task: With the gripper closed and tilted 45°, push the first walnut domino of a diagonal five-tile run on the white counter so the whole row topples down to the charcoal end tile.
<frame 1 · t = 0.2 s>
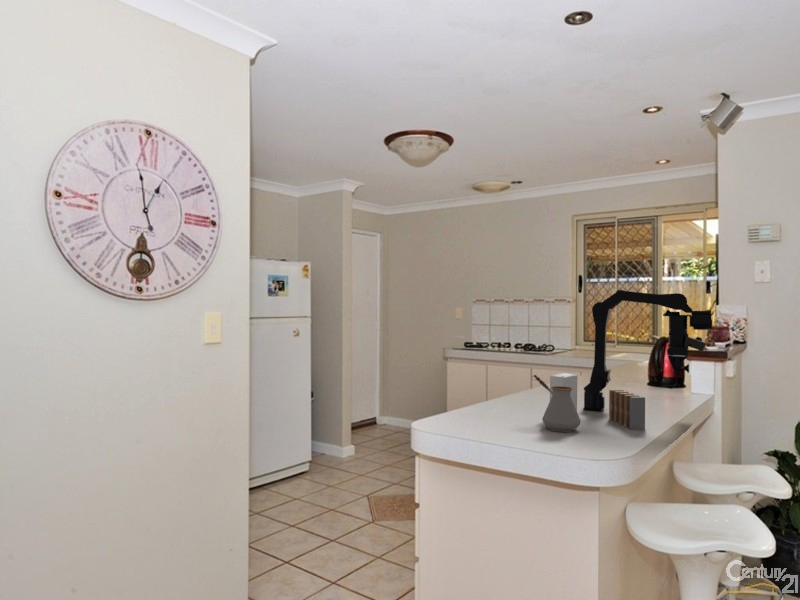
hand: (678, 374, 187), 15 cm above the countertop, tool pointing down, fingers open, 9 cm apart
domino 5: (637, 429, 169), on the countertop
coffee pot: (551, 426, 172), on the countertop
domino 3: (626, 424, 176), on the countertop
domino 2: (621, 421, 179), on the countertop
skincare box: (563, 418, 184), on the countertop
domino 1: (616, 419, 182), on the countertop
domino 4: (631, 426, 172), on the countertop
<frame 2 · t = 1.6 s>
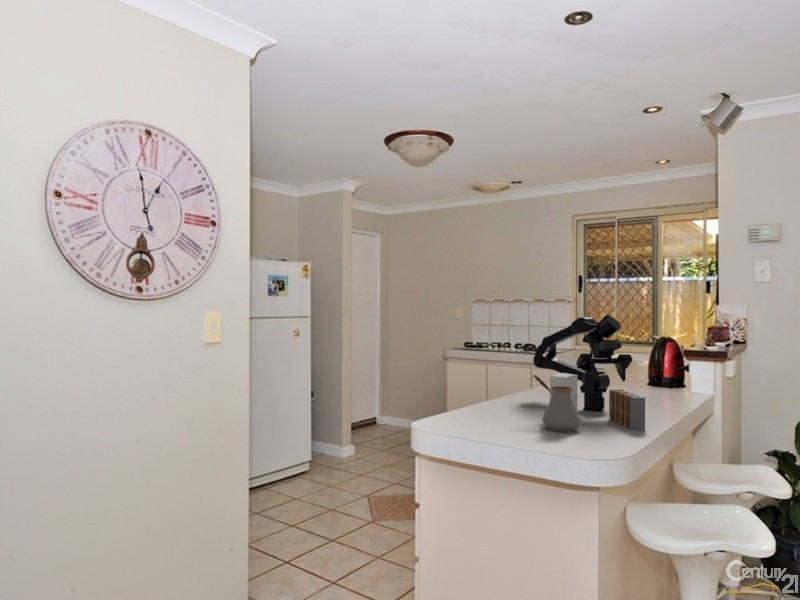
hand: (611, 380, 187), 13 cm above the countertop, tool tilted 45°, fingers open, 9 cm apart
nothing on the countertop moved.
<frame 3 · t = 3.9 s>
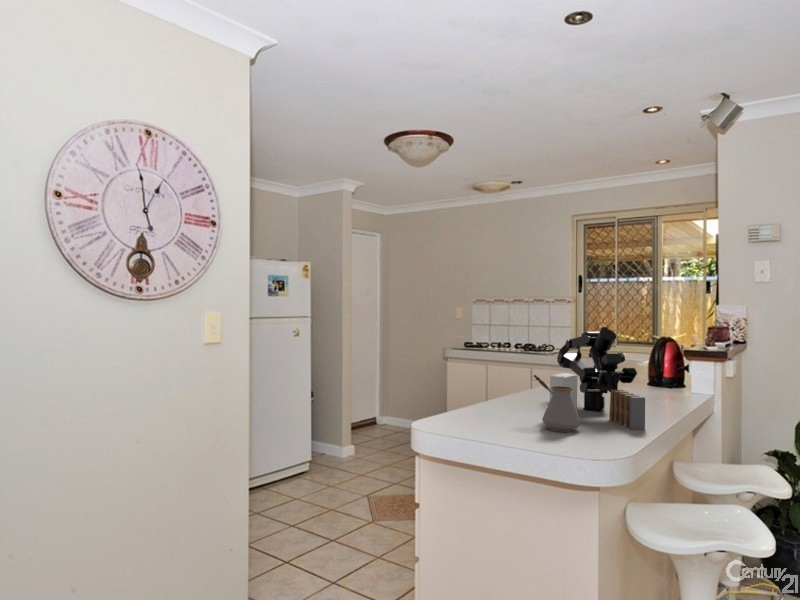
hand: (616, 395, 183), 8 cm above the countertop, tool tilted 45°, fingers closed
domino 1: (616, 419, 182), on the countertop, tilted 6°
everything else where it was.
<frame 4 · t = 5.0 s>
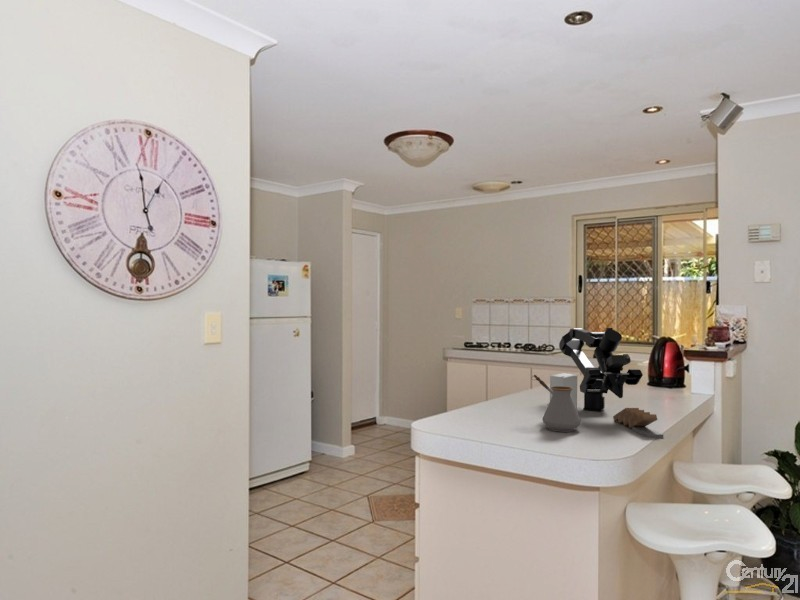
hand: (621, 397, 179), 8 cm above the countertop, tool tilted 45°, fingers closed
domino 5: (638, 429, 168), on the countertop, tilted 90°, touching domino 4
domino 3: (629, 423, 173), point 1 cm above the countertop, tilted 63°, touching domino 2, domino 4
domino 2: (624, 420, 177), point 1 cm above the countertop, tilted 63°, touching domino 1, domino 3
domino 1: (619, 418, 180), point 1 cm above the countertop, tilted 63°, touching domino 2
domino 4: (635, 425, 170), point 1 cm above the countertop, tilted 63°, touching domino 3, domino 5
everything else where it was.
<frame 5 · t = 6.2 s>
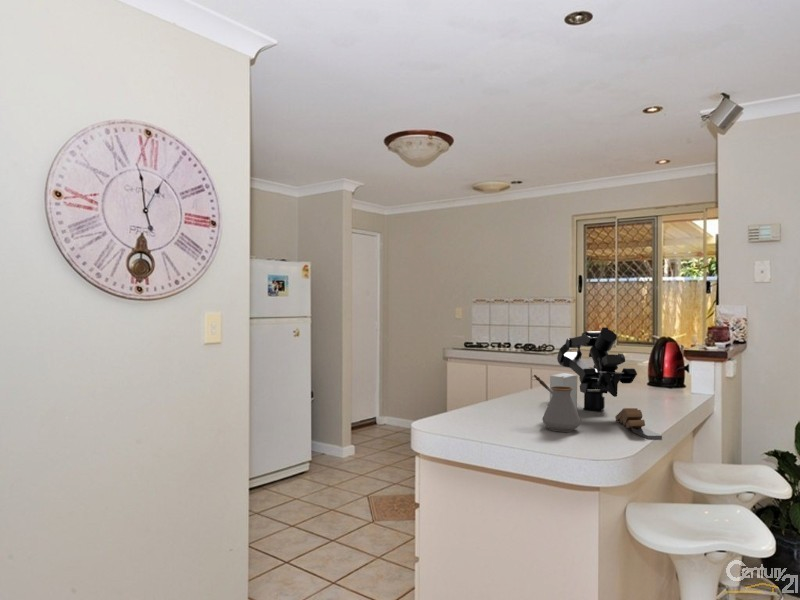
hand: (615, 396, 183), 8 cm above the countertop, tool tilted 45°, fingers closed
domino 5: (638, 430, 166), on the countertop, tilted 90°, touching domino 4
domino 3: (630, 423, 172), point 1 cm above the countertop, tilted 63°, touching domino 2, domino 4
domino 2: (626, 421, 176), point 1 cm above the countertop, tilted 62°, touching domino 1, domino 3
domino 4: (633, 425, 168), point 1 cm above the countertop, tilted 74°, touching domino 3, domino 5
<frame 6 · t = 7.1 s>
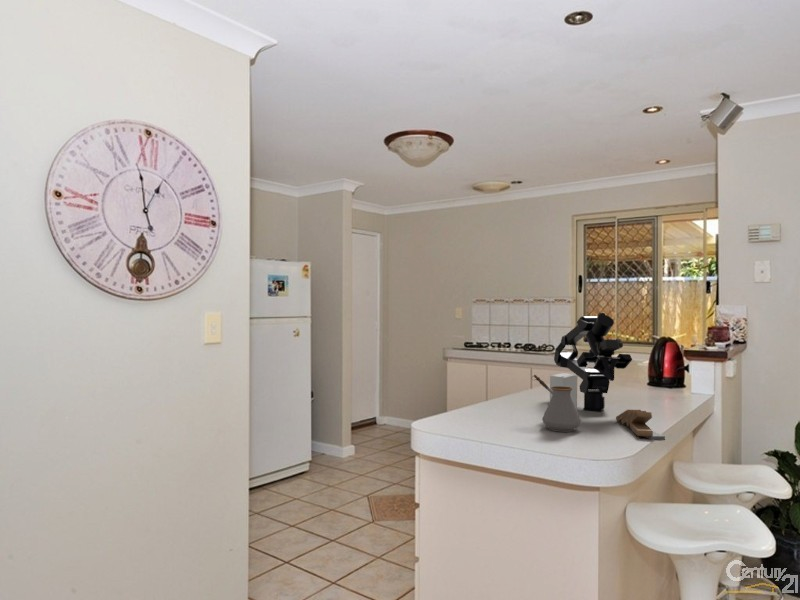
hand: (612, 380, 187), 13 cm above the countertop, tool tilted 40°, fingers closed
domino 3: (633, 424, 170), point 1 cm above the countertop, tilted 60°, touching domino 2, domino 4
domino 2: (628, 422, 175), point 1 cm above the countertop, tilted 61°, touching domino 1, domino 3
domino 4: (637, 425, 166), point 2 cm above the countertop, tilted 90°, touching domino 3, domino 5
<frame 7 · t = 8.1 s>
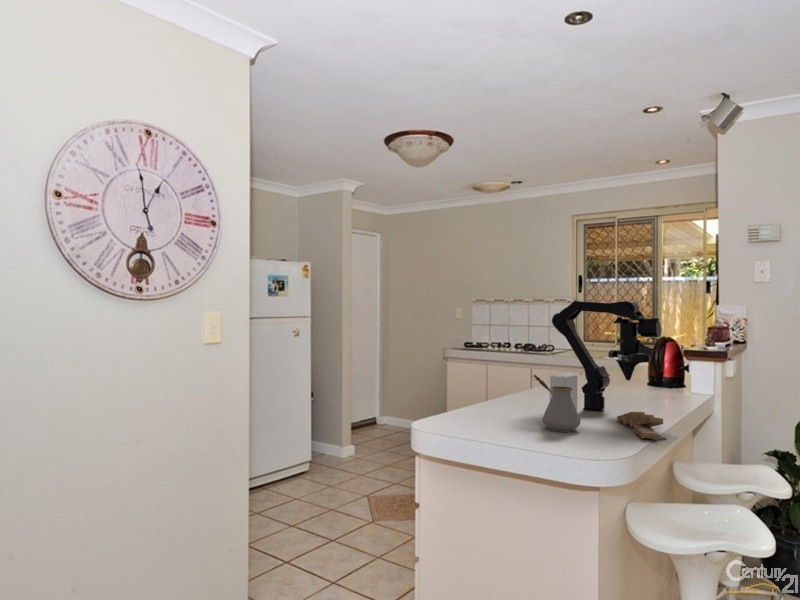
hand: (628, 380, 192), 12 cm above the countertop, tool pointing down, fingers closed
domino 3: (636, 425, 169), point 1 cm above the countertop, tilted 69°
domino 2: (629, 422, 174), point 1 cm above the countertop, tilted 69°, touching domino 1
domino 4: (641, 427, 164), point 1 cm above the countertop, tilted 90°, touching domino 5
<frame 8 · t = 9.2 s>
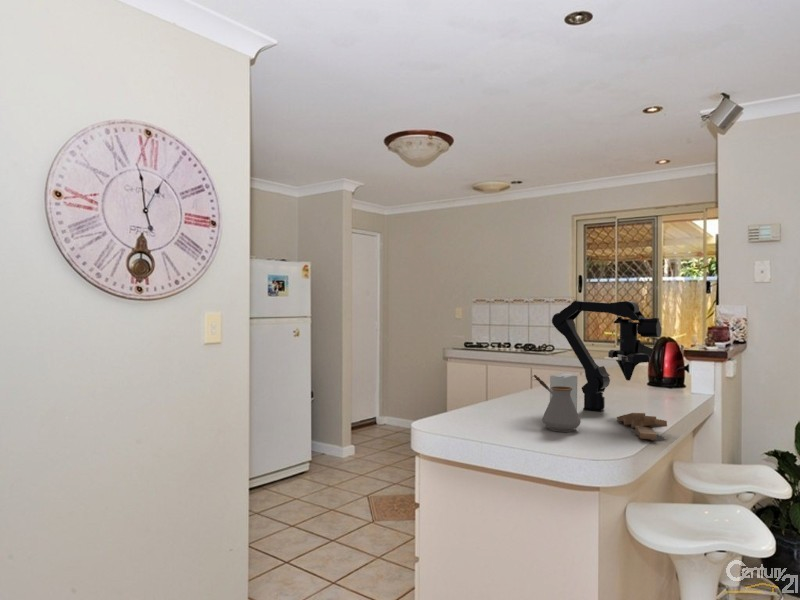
hand: (628, 380, 192), 12 cm above the countertop, tool pointing down, fingers closed
domino 3: (636, 426, 168), point 1 cm above the countertop, tilted 72°, touching domino 2
domino 2: (629, 422, 173), point 1 cm above the countertop, tilted 71°, touching domino 1, domino 3
domino 4: (642, 428, 163), point 2 cm above the countertop, tilted 90°, touching domino 5
at the end: domino 5 tilted 90°; domino 3 tilted 72°; domino 1 tilted 71° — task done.
